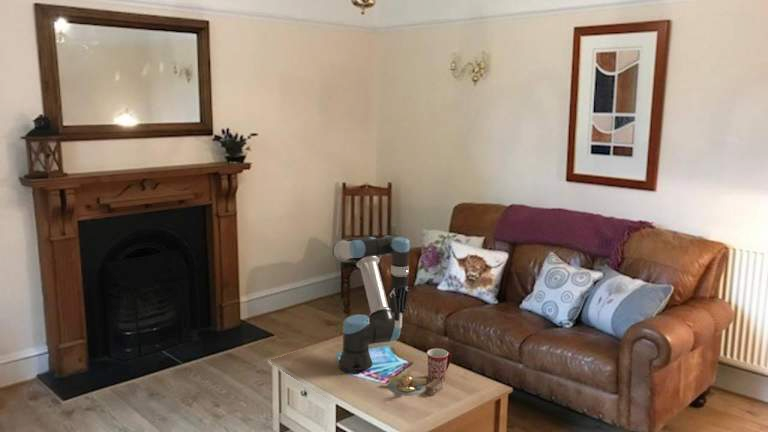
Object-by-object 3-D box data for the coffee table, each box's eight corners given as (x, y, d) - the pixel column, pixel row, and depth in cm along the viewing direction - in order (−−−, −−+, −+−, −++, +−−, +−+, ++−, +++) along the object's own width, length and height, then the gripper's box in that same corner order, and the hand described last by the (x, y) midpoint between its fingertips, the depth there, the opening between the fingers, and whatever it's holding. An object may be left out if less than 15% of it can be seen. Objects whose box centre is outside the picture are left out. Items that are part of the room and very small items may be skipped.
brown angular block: (425, 396, 264) (425, 385, 263) (436, 389, 270) (436, 378, 269) (434, 400, 261) (434, 388, 260) (444, 392, 267) (445, 381, 266)
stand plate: (380, 390, 268) (380, 387, 268) (402, 377, 280) (402, 374, 280) (411, 402, 258) (411, 399, 258) (433, 388, 271) (433, 385, 270)
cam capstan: (390, 376, 278) (391, 361, 276) (427, 379, 276) (427, 364, 274) (385, 394, 262) (385, 378, 261) (424, 397, 260) (424, 382, 258)
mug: (436, 388, 271) (437, 359, 268) (421, 380, 278) (422, 351, 275) (457, 380, 279) (458, 351, 276) (442, 372, 286) (443, 344, 283)
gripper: (397, 279, 261) (396, 333, 266) (415, 272, 271) (414, 324, 276) (383, 275, 266) (382, 329, 271) (401, 269, 276) (400, 320, 281)
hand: (398, 326), depth 273 cm, fingers closed
